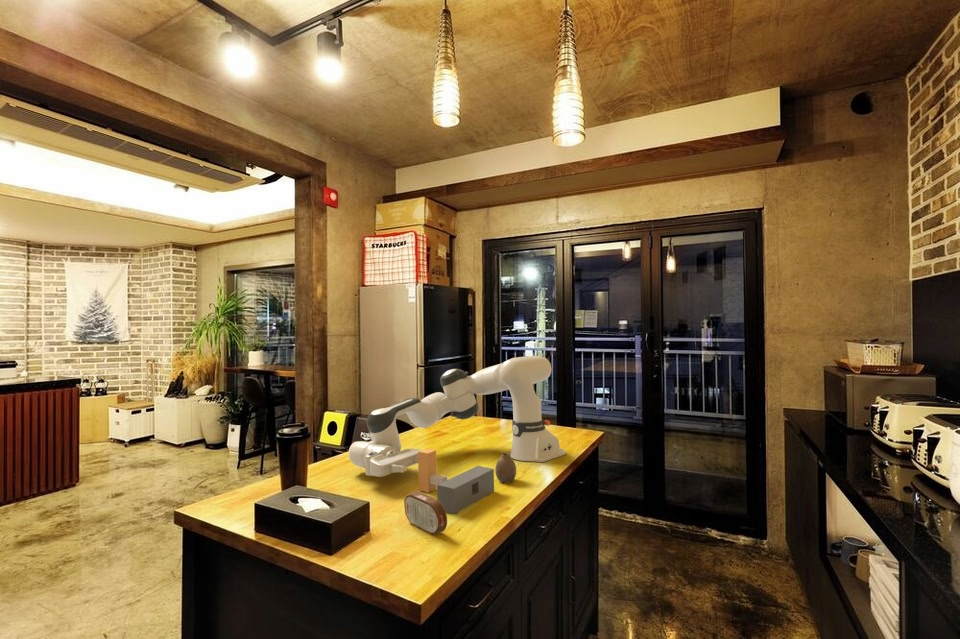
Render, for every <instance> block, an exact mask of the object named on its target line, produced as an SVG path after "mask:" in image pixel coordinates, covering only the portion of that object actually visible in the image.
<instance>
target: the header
mask: <svg viewBox="0 0 960 639" xmlns="http://www.w3.org/2000/svg"><path fill="white" fill-rule="evenodd" d="M494 492H495V468H492V467H487V466H481V465H476V466H474V467H472V468H470V469H468V470H466V471H464V472H462V473H459V474H457V475H455V476H453V477H451V478H449V479H448V478H447V480H446V481H444V482H442V483H440V484H438V485H437V489H436V493H437V494H436V495H437V496H436V499H437V500H438V501H439V502H440V503H441V504H442V505H443V507H444V509H445V512H446V514H447V513H448V514H450V515H454V514H455V515H457V514H458V513H460V512H461V510H462V511H463V510H465V509H467V508H468V507H470V506H472V505H473V504H475V503H477V502H479V501H481V500H482V499H484V498H485V497H487V496H489V495H491V494H492V493H494ZM459 511H460V512H459ZM457 512H458V513H457Z"/></svg>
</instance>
